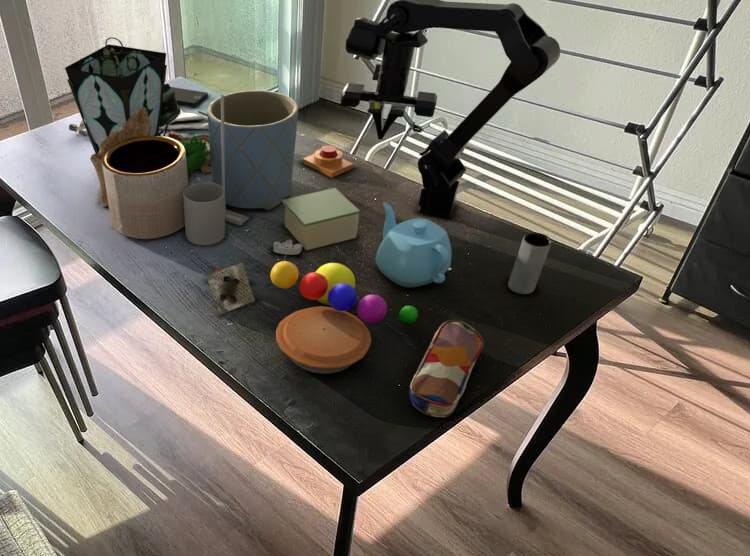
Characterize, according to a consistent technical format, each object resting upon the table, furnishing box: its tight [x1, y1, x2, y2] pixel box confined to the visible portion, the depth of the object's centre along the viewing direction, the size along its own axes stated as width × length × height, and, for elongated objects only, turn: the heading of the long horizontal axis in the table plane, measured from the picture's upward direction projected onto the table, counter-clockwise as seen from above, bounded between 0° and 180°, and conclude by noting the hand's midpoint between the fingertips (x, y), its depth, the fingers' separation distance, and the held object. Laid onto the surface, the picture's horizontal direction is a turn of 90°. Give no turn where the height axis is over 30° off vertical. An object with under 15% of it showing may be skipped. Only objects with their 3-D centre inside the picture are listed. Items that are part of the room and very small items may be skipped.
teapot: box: [375, 201, 452, 288], centre depth 127 cm, size 13×11×18 cm
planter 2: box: [206, 89, 299, 211], centre depth 149 cm, size 19×19×20 cm
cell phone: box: [170, 86, 209, 107], centre depth 199 cm, size 9×18×1 cm, turn 62°
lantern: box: [64, 36, 168, 154], centre depth 160 cm, size 17×17×30 cm
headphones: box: [159, 83, 182, 137], centre depth 173 cm, size 13×13×20 cm
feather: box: [169, 126, 193, 135], centre depth 169 cm, size 2×28×2 cm
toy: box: [180, 135, 209, 184], centre depth 150 cm, size 17×9×15 cm, turn 32°
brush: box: [220, 93, 250, 226], centre depth 140 cm, size 4×28×9 cm
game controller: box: [272, 239, 303, 261], centre depth 134 cm, size 6×12×3 cm, turn 2°
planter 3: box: [507, 232, 553, 295], centre depth 121 cm, size 4×4×10 cm
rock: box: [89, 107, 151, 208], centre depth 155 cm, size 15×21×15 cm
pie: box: [275, 305, 372, 375], centre depth 113 cm, size 16×16×5 cm
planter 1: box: [102, 135, 190, 240], centre depth 144 cm, size 18×18×16 cm
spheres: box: [269, 260, 419, 324], centre depth 118 cm, size 25×8×17 cm
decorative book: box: [177, 132, 211, 174], centre depth 165 cm, size 13×18×5 cm
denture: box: [167, 130, 184, 140], centre depth 173 cm, size 6×4×8 cm
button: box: [320, 144, 338, 158], centre depth 161 cm, size 4×4×2 cm
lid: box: [281, 187, 361, 227], centre depth 138 cm, size 12×10×1 cm
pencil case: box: [409, 319, 485, 418], centre depth 106 cm, size 11×20×5 cm, turn 163°
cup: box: [183, 181, 226, 246], centre depth 141 cm, size 8×8×10 cm
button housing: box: [302, 148, 354, 179], centre depth 162 cm, size 10×7×3 cm
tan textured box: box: [206, 262, 256, 316], centre depth 127 cm, size 8×8×6 cm
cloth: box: [159, 108, 208, 130], centre depth 187 cm, size 26×14×2 cm, turn 38°
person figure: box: [68, 119, 88, 136], centre depth 184 cm, size 12×15×3 cm
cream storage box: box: [284, 205, 360, 251], centre depth 140 cm, size 11×10×6 cm
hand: (380, 138), depth 145 cm, fingers closed
